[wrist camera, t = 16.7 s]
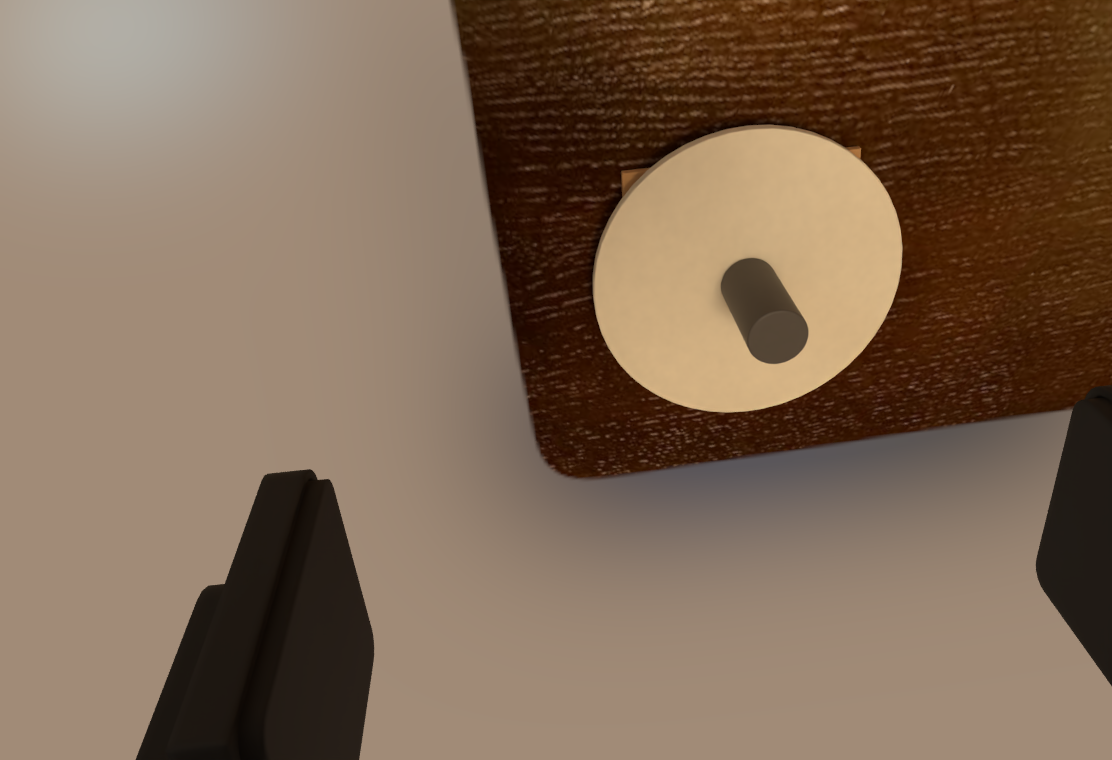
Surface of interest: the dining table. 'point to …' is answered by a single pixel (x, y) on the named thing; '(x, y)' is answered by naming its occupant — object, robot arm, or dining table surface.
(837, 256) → the lid
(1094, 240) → the dining table surface
